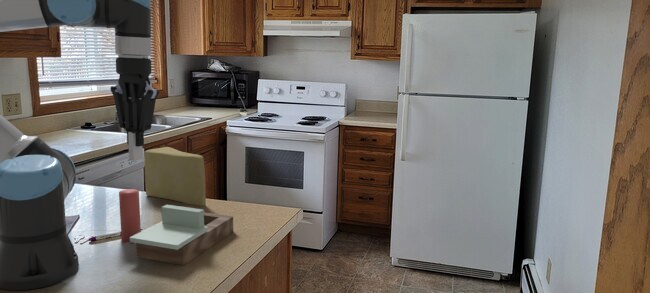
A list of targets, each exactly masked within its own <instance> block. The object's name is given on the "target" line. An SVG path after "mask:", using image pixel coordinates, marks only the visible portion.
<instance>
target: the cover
mask: <svg viewBox="0 0 650 293" xmlns="http://www.w3.org/2000/svg"><path fill="white" fill-rule="evenodd" d="M204 212H205V210H204V209H202V208H193V207H188V206H181V205H180V206H178V205H173V204H165V205H163V206H161V221H159V222H158V223H156V224H153V225H152V226H149V227H148V228H146V229H144V230H142V231H141V232H139V233H137V234H135V235H133V236H131V237H130V242H134V243H135V244H136V243H140V244H146V245H152V246H158V247H164V248H170V249H176V250H178V249H179V248H181V247H183V246H184V245H186V244H188V243H189V242H191V241H192V240H194V239H196V238H197V237H199V236H201V235H202V234H204V233H205V232H207V231H208V227H206V226H204Z"/></svg>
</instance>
